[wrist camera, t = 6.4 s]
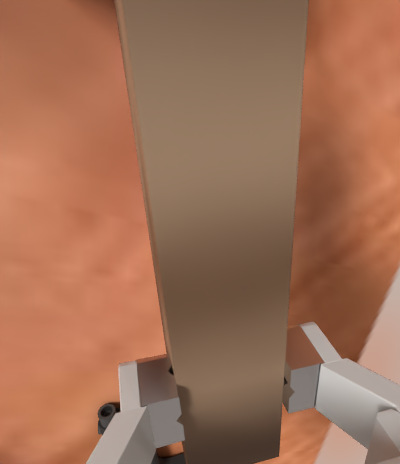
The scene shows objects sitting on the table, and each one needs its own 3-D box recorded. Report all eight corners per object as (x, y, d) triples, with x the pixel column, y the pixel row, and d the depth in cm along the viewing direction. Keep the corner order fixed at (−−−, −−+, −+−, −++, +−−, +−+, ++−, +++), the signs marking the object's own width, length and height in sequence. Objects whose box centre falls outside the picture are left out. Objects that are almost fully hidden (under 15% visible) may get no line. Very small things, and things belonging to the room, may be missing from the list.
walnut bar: (248, 382, 15) (278, 456, 12) (173, 401, 15) (189, 481, 12) (247, -55, 8) (315, -92, 6) (106, -50, 8) (110, -87, 5)
